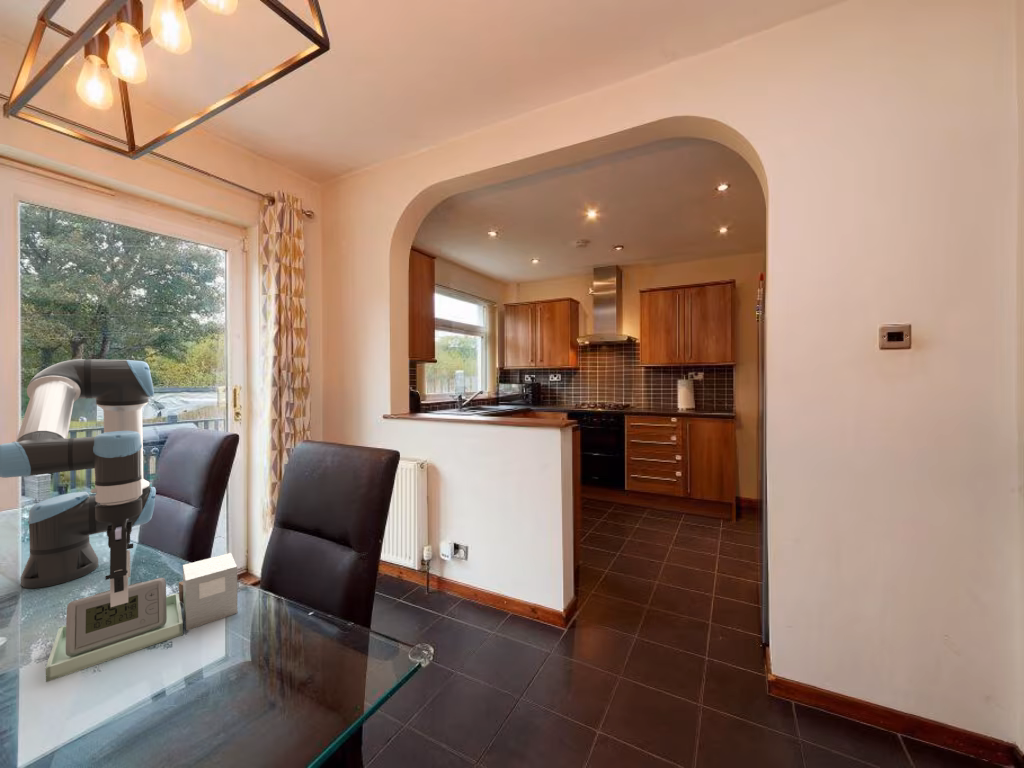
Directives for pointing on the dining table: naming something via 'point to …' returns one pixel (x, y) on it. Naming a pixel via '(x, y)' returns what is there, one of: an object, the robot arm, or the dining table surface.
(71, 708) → the dining table surface
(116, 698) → the dining table surface
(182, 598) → the walnut block
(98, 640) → the digital clock
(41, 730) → the dining table surface
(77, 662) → the tray
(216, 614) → the light grey labelled box
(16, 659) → the dining table surface
